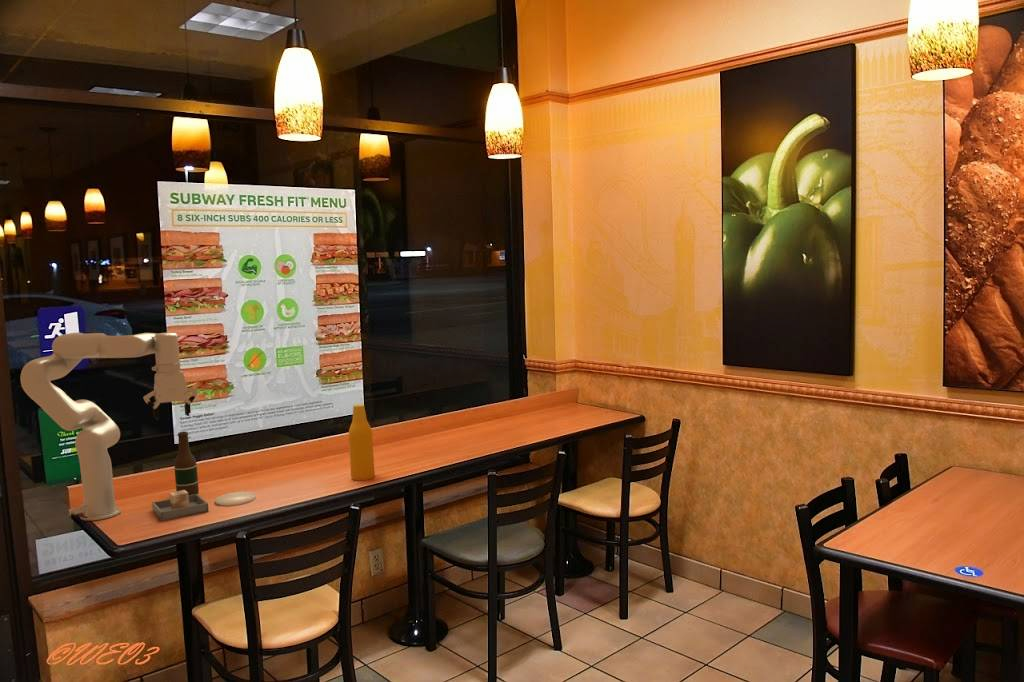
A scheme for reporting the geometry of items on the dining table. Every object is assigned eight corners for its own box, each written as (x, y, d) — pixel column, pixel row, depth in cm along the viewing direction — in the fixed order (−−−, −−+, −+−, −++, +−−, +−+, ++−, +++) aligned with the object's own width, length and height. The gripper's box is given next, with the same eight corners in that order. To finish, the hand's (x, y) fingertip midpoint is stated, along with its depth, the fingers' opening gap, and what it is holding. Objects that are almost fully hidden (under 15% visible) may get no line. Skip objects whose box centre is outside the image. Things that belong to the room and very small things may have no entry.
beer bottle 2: (369, 481, 300) (365, 407, 297) (347, 480, 301) (342, 407, 299) (378, 474, 309) (374, 403, 306) (356, 474, 310) (352, 403, 308)
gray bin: (161, 521, 260) (161, 512, 260) (152, 510, 272) (151, 502, 272) (208, 511, 269) (207, 503, 268) (197, 501, 281) (197, 493, 281)
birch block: (174, 512, 267) (172, 495, 266) (171, 509, 271) (169, 492, 270) (189, 509, 270) (188, 492, 269) (186, 506, 274) (184, 489, 273)
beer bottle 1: (175, 498, 286) (170, 435, 284) (178, 493, 293) (172, 431, 291) (197, 496, 288) (192, 433, 286) (200, 490, 296) (195, 429, 293)
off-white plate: (221, 508, 272) (220, 505, 272) (210, 499, 283) (210, 496, 283) (260, 500, 280) (260, 497, 280) (249, 491, 291) (249, 489, 291)
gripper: (143, 372, 258) (147, 422, 259) (197, 366, 268) (201, 415, 269) (139, 370, 264) (143, 419, 265) (192, 365, 274) (196, 412, 275)
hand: (172, 417), depth 267 cm, fingers open, 9 cm apart
